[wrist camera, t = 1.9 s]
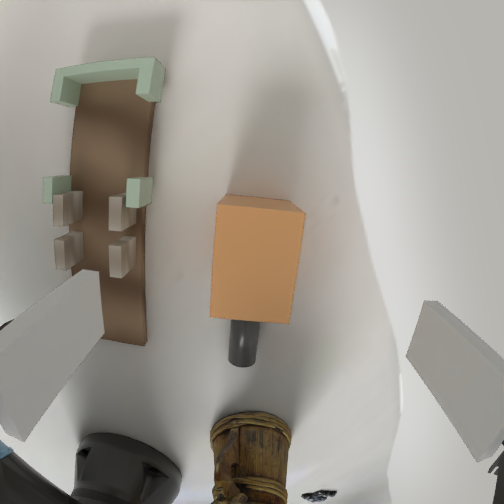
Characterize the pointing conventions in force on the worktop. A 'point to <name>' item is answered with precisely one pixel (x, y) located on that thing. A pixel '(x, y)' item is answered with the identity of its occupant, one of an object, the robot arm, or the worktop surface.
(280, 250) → the plug
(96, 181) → the board
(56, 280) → the worktop surface
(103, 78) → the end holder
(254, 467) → the wooden mug
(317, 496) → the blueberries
